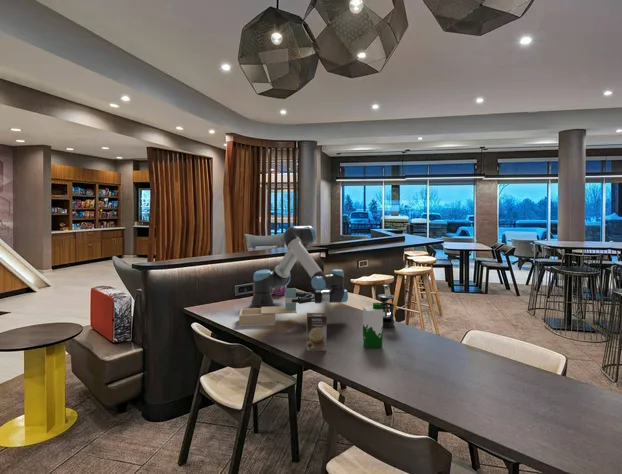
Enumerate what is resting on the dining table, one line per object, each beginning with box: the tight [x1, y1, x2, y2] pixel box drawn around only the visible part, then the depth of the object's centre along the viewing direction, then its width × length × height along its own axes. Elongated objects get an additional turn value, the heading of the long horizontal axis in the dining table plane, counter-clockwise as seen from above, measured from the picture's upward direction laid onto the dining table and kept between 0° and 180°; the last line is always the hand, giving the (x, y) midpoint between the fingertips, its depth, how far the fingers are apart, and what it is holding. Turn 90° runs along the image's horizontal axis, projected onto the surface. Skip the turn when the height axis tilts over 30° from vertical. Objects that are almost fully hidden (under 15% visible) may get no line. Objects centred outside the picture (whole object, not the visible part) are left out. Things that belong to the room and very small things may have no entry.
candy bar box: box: [271, 285, 287, 296], centre depth 280 cm, size 11×5×16 cm, turn 84°
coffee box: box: [305, 312, 328, 352], centre depth 168 cm, size 9×6×16 cm
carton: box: [238, 307, 276, 327], centre depth 211 cm, size 20×14×6 cm
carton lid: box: [260, 287, 298, 315], centre depth 211 cm, size 20×14×12 cm
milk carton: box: [362, 302, 384, 349], centre depth 172 cm, size 9×9×20 cm
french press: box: [377, 284, 395, 329], centre depth 202 cm, size 12×9×23 cm
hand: (285, 297), depth 212 cm, fingers open, 13 cm apart
